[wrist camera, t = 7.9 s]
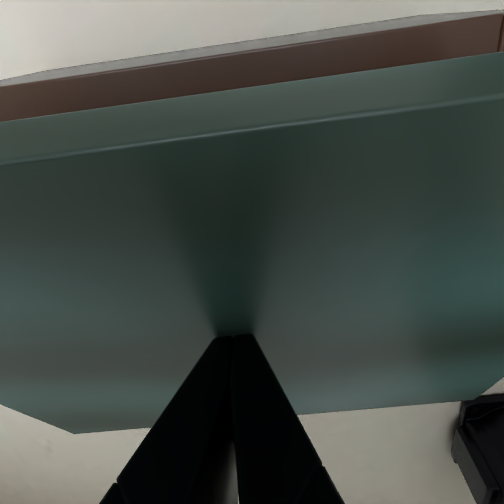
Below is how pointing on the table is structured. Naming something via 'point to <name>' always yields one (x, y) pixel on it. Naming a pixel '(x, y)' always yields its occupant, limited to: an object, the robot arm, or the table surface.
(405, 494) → the table surface
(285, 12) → the table surface
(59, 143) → the lid
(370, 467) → the table surface
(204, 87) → the toy box
